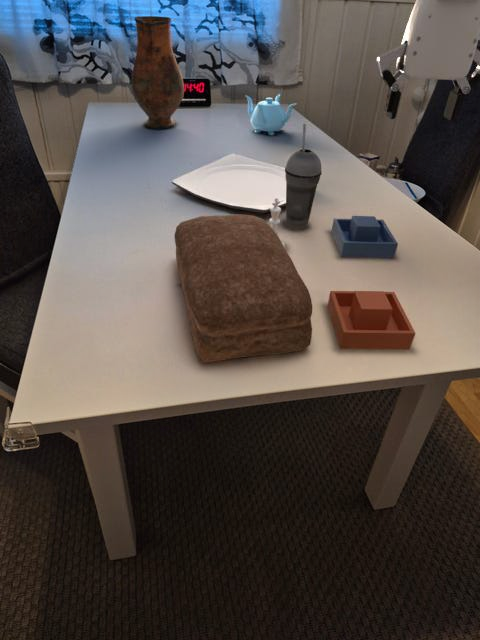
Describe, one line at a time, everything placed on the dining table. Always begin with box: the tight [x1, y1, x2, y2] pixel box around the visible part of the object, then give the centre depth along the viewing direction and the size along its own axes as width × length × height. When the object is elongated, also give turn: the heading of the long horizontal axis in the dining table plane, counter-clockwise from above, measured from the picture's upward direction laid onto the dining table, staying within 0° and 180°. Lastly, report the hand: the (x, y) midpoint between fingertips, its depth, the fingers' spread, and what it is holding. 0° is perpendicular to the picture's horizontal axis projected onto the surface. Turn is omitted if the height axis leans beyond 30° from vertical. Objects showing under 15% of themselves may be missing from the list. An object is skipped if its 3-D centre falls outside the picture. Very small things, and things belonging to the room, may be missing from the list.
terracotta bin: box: [326, 290, 416, 351], centre depth 67 cm, size 10×10×3 cm
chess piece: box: [268, 198, 286, 249], centre depth 83 cm, size 5×5×10 cm
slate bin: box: [330, 218, 399, 259], centre depth 87 cm, size 10×10×3 cm
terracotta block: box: [349, 290, 393, 330], centre depth 66 cm, size 4×4×4 cm
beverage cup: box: [284, 123, 323, 231], centre depth 88 cm, size 7×7×20 cm
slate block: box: [348, 215, 381, 242], centre depth 87 cm, size 4×4×4 cm
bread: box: [174, 213, 313, 363], centre depth 68 cm, size 17×29×11 cm, turn 12°
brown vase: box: [131, 15, 185, 130], centre depth 142 cm, size 17×21×30 cm
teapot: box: [244, 93, 297, 136], centre depth 145 cm, size 13×13×10 cm
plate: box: [171, 153, 286, 214], centre depth 108 cm, size 29×29×3 cm
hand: (419, 118), depth 72 cm, fingers open, 9 cm apart
